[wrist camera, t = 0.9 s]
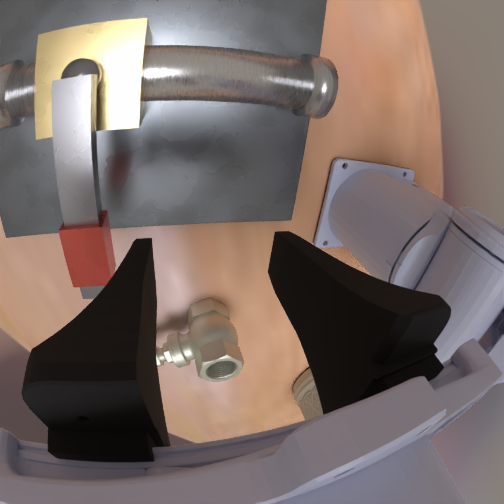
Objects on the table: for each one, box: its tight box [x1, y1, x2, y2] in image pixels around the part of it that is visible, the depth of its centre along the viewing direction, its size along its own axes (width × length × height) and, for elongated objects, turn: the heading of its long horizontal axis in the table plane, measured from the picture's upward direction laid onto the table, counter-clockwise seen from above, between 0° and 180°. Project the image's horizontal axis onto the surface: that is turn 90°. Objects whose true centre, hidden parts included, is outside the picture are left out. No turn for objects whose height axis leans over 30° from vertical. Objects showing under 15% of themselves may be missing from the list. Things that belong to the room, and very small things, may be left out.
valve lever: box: [52, 58, 116, 299], centre depth 10 cm, size 11×2×2 cm, turn 173°
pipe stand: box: [0, 0, 338, 238], centre depth 12 cm, size 22×18×6 cm
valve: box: [156, 298, 244, 382], centre depth 23 cm, size 7×7×12 cm
